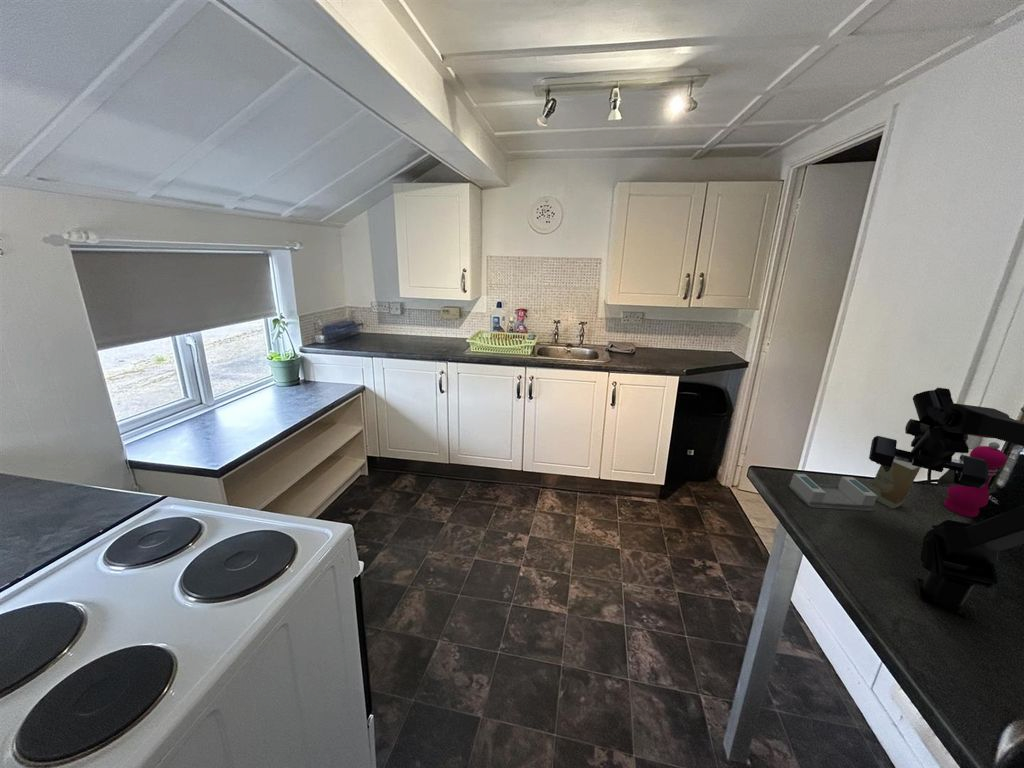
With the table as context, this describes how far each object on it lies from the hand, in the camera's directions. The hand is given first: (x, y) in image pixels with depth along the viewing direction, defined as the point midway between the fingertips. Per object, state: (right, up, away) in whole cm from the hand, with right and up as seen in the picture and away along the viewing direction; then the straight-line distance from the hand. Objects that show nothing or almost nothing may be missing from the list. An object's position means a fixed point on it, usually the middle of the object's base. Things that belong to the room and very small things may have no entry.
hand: (911, 476), depth 98 cm
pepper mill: (+22, -11, +10) cm, 27 cm away
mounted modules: (-11, -8, +11) cm, 18 cm away
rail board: (-11, -8, +11) cm, 18 cm away
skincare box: (+4, -9, +12) cm, 15 cm away
